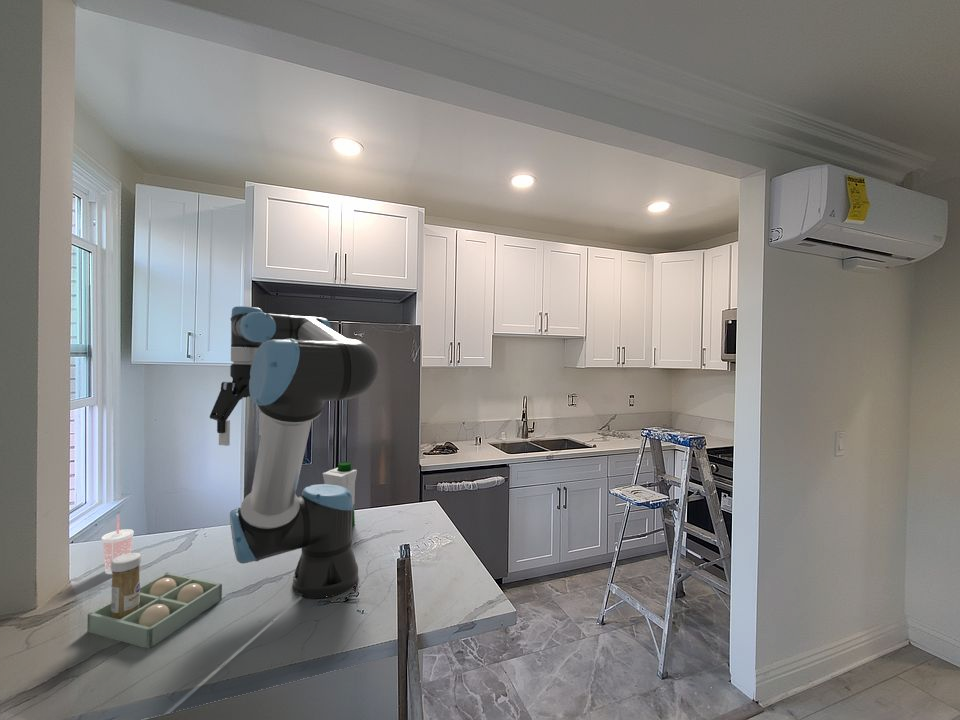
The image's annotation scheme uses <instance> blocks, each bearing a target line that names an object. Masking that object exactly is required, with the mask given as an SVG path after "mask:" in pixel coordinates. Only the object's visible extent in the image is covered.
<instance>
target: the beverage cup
mask: <svg viewBox="0 0 960 720" xmlns="http://www.w3.org/2000/svg"><path fill="white" fill-rule="evenodd" d="M134 533H135V531H134V530H133V529H130V528H129V529H128V528H127V529H125V528H124V529H120V514H116V530H114V531H113V530H112V531H110V532H108V533H106V534H104V535H101V542H102V546H103V547H102V548H103V558H104V559H103V560H104V572H105V574H107V575H112V571H111V562H112V560H113V559H114V558H116V557H118V556H121V555H124V554H128V553H132V545H133V544H132V541H133V536H134Z"/></svg>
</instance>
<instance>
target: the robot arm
mask: <svg viewBox="0 0 960 720" xmlns="http://www.w3.org/2000/svg"><path fill="white" fill-rule="evenodd" d="M230 329H231V330H230V362H232V363H231V365H230V370H229V371H230V373H229V374H230V377H231V378H232V382H231V381H222V382H221V385H220V391H219V394H218V396H217V398H216V401H215V403H214V405H213V408H212V410H211V412H210V414H209V419H211V420H215V421H216V423H217V424H216V425H217V426H216V431H217V432H216V433H217V434H218V446H224V447H225V446H227V447H228V446H230V445H231V444H230V443H231V442H230V437H231V434H230V433H231V430H230V429H231V420H229V417H230V416H231V414H232V412H233V411H234V409H235V408H236V406H237V405H238V403H239V402H240V401H241V400H242V399H243V398H244V399H245V398H248V397H249V398H250V399H251V400H250V401H252V402H253V404H255V405H256V406H257V409H258V410H259V411H260V412H259V417H258V419H259V421H258V435H259V436H260V438H259V444H258V450H257V451H258V452H257V457H256V462H255V469H254V475H253V480H252V486H251V491H250V493H248V494H247V495H246V496H245V497H244V499H243V500H242V502H241V505H240V507H237V508H234V509H232V510H230V512H229V524H230V531H231V532H230V534H231V539H232V545H233V550H234V551H233V552H234V556H235V559H236V561H237V563H239V564H248V563H252V562H259V561H261V560H265V559H269V558H271V557H275V556H278V555H281V554H285V553H286V554H287V553H289V552H293V551H296V550H299V549H301V553H300V556H299V560H298V562H297V564H296V568H295V570H294V573H293V579H292V587H293V590H294V591H295V592H297V594H300V595H301V597H303V598H307V599H323V598H324V597H325V598H327V597H326V596H330V597H333V596H332V595H334V596H338V595H340V594H342V593H344V592H346V591H348V590H349V589H351V588H352V587H353V586H354V585H355V583H357V581H358V578H359V566H358V563H357V559H356V557H355V552H354V550H353V545H352V543H353V542H352V540H353V539H352V537H353V525H352V512H353V504H352V494H351V492H350V491H349V490H348V489H347V488H345V487H342V486H338V485H331V484H325V483H321V484H320V483H319V484H318V483H316V484H311V485H309V486H306V487H304V488H303V490H302V492H301V495H300V496H297V494H296V493H297V492H296V491H297V488H298V485H299V480H300V476H301V475H300V474H301V469H302V466H303V462H304V457H305V453H306V448H307V444H308V440H309V434H310V431H311V427H312V421H314V420H315V419H317V418H319V416H321V414H322V413H323V410H324V405H325V402H328V401H329V402H332V401H344V400H346V401H347V400H351V399H355V398H357V397H360V396H361V395H364V393H366V392H367V391H368V390H369V389H371V388H372V386H374V384H375V382H376V380H377V378H378V376H379V373H380V361H379V357H378V356H377V353H376V352H375V350H374V349H373V348H372V347H371V346H370V345H368V344H367V343H364V342H363V341H361V340H359V339H354V338H347V337H345V336H344V335H342V334H340V333H339V332H337V331H336V330H333V329H332V327H331V324H330V321H329V320H328V319H327V318H325V317H318V316H307V315H306V316H304V315H289V314H278V313H277V314H276V313H266V312H264V311H263V310H262V308H259V307H254V306H233V308H232V309H231V315H230ZM325 598H324V599H325Z"/></svg>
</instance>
